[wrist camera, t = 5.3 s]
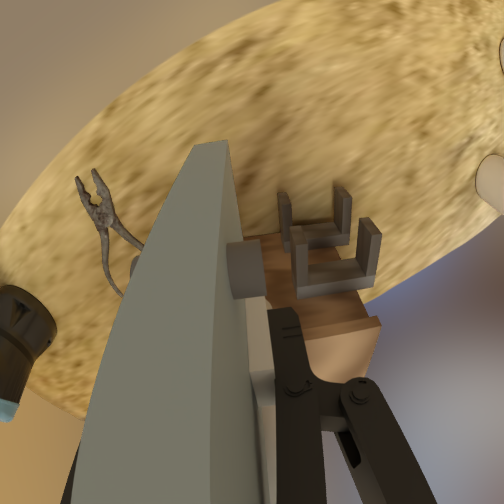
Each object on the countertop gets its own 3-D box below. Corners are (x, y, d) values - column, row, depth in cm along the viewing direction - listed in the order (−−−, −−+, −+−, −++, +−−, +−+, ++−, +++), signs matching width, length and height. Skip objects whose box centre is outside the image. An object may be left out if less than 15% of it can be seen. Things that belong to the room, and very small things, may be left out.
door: (220, 335, 21) (221, 530, 9) (170, 149, 13) (5, 489, 1) (274, 329, 21) (301, 525, 9) (252, 136, 13) (348, 539, 1)
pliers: (127, 305, 41) (44, 203, 31) (128, 302, 42) (47, 200, 31) (177, 285, 40) (91, 165, 29) (178, 281, 40) (94, 163, 29)
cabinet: (208, 293, 41) (202, 402, 27) (183, 201, 33) (151, 307, 19) (334, 276, 41) (374, 376, 27) (338, 181, 33) (410, 271, 19)
